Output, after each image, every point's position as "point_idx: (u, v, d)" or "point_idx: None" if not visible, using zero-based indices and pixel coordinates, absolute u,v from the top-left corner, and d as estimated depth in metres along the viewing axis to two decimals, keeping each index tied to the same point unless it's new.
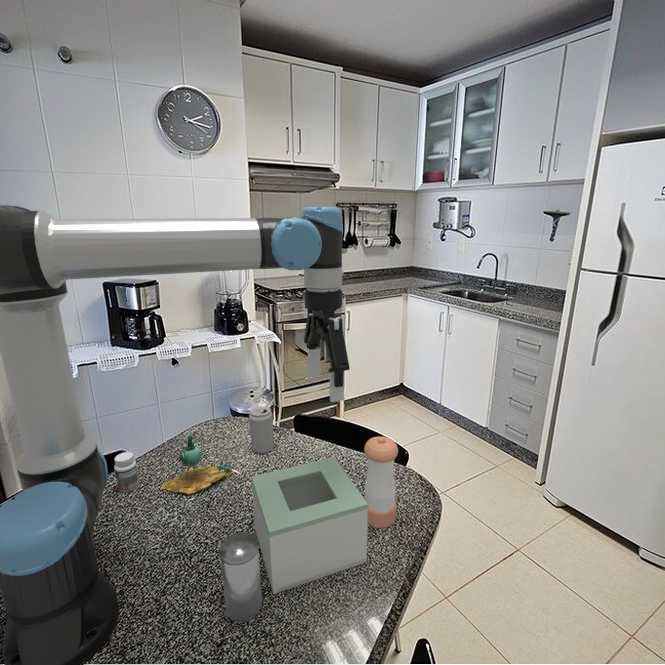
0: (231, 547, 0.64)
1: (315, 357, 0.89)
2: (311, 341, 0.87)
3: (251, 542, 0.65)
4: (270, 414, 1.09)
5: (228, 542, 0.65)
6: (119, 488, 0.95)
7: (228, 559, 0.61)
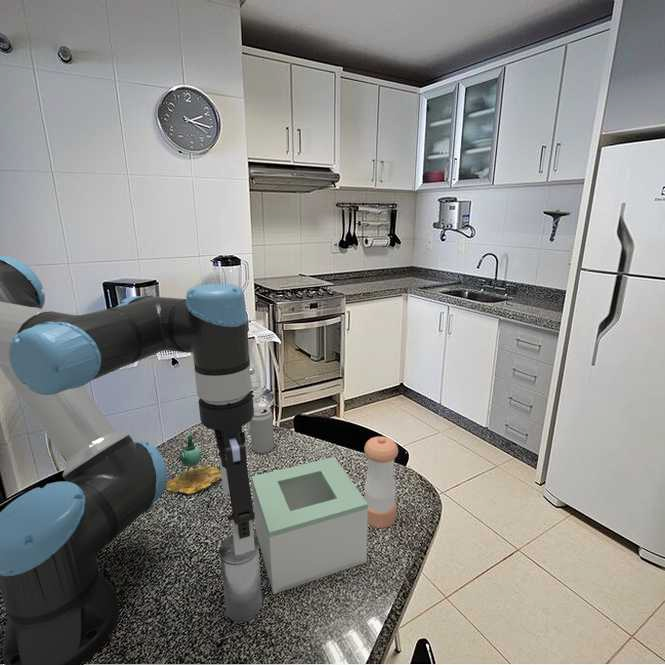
0: (231, 547, 0.64)
1: None
2: None
3: None
4: (270, 414, 1.09)
5: (228, 542, 0.65)
6: None
7: (228, 559, 0.61)
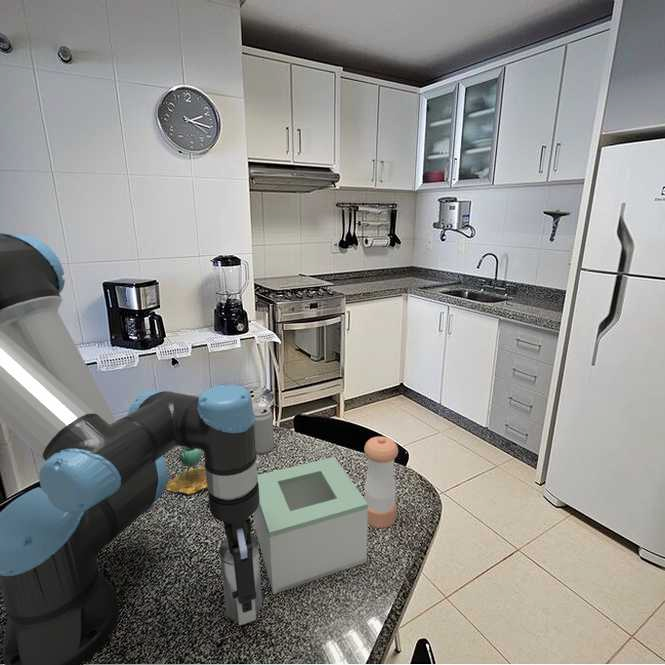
0: None
1: None
2: None
3: None
4: (270, 414, 1.09)
5: None
6: None
7: (228, 559, 0.61)
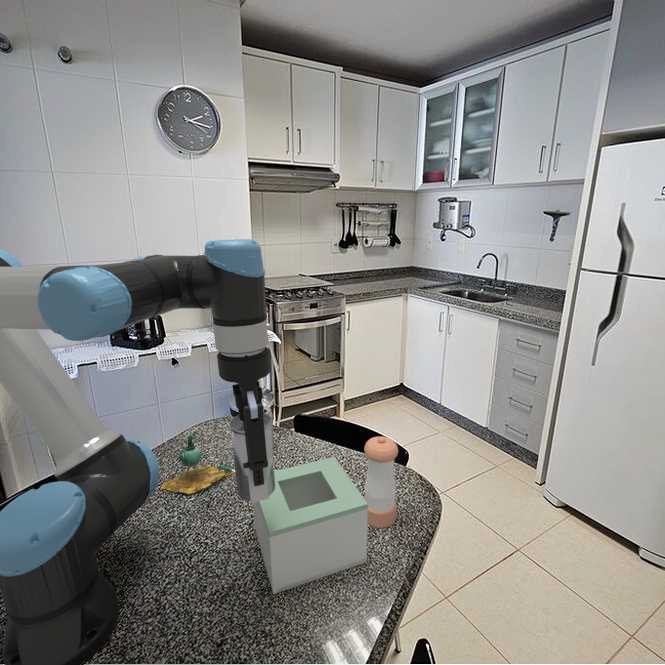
0: (242, 421, 0.60)
1: None
2: None
3: (263, 418, 0.61)
4: (270, 414, 1.09)
5: (239, 418, 0.61)
6: None
7: (239, 429, 0.58)
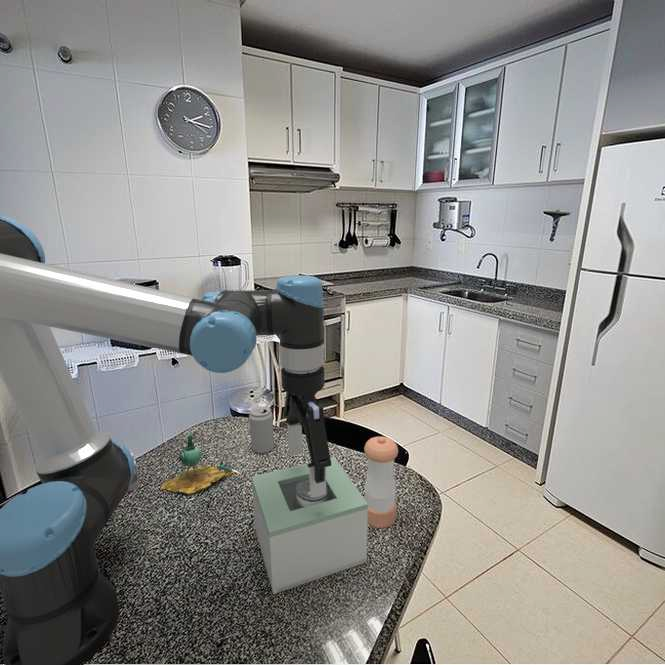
0: (305, 488, 0.76)
1: (296, 433, 0.79)
2: (291, 417, 0.77)
3: None
4: (270, 414, 1.09)
5: (302, 484, 0.77)
6: None
7: (305, 496, 0.74)
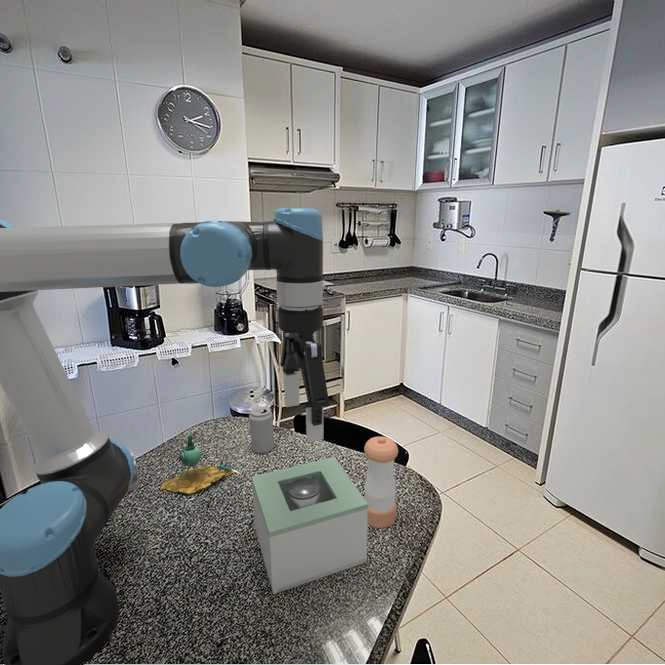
0: (297, 487, 0.76)
1: (293, 383, 0.76)
2: (288, 365, 0.74)
3: (314, 484, 0.77)
4: (270, 414, 1.09)
5: (295, 484, 0.77)
6: None
7: (297, 495, 0.74)
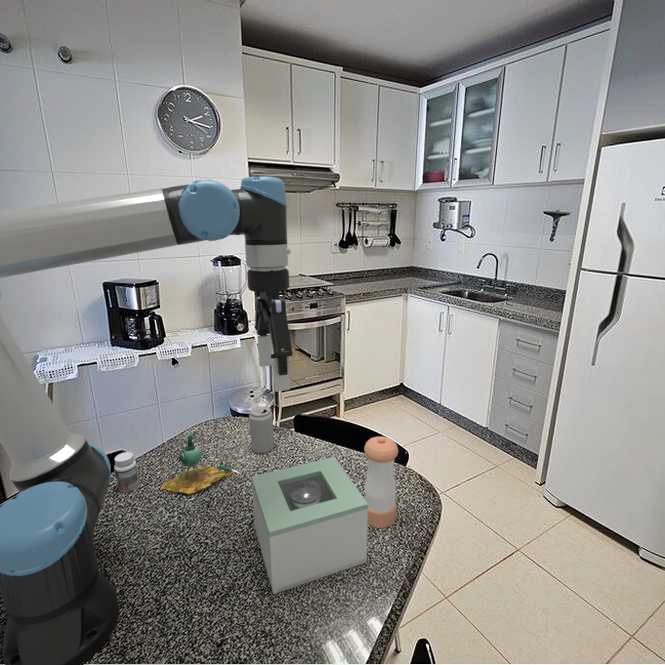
0: (298, 491, 0.76)
1: (266, 345, 0.83)
2: (260, 327, 0.81)
3: (315, 487, 0.76)
4: (270, 414, 1.09)
5: (296, 487, 0.77)
6: (119, 488, 0.95)
7: (298, 499, 0.73)
